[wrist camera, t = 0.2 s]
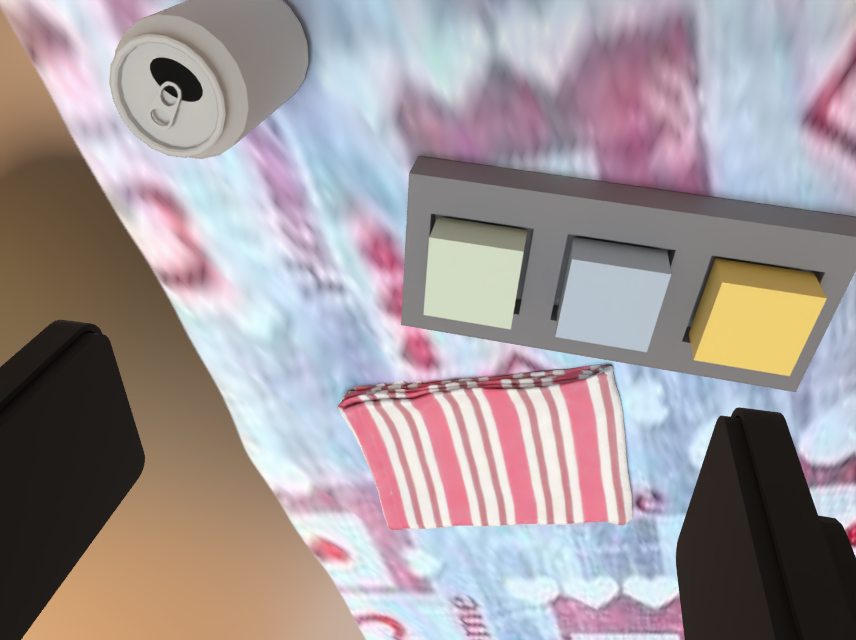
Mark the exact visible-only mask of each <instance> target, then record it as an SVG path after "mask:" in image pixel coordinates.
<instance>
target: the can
mask: <svg viewBox="0 0 856 640" xmlns="http://www.w3.org/2000/svg"><path fill="white" fill-rule="evenodd" d="M308 63H309V62H308V43H307V40H306V38H305V35H304V32H303V29H302V26H301V23H300V22H299V20H298V19H297V17H296V16H295V14H294V13H293V11H292V10H291V8H290V7H289V6H288V5H287V4H286V3H285V2H284V1H282V0H188V1H186V2H183V3H181V4H178V5H175V6H173V7H170V8H168V9H165V10H163V11H160V12H158V13H155V14H153V15H150V16H147V17H145V18H142V19H140V20H138V21H137V22H136V23H135V24H133V25H132V26H131V27H130V28H129V29H128V30H127V31H125V32H124V34H123V36H122V38H121V40H120V42H119V44H118V47H117V49H116V51H115V57H114V59H113V61H112V64H111V70H110V88H111V92H112V97H113V102H114V104H115V106H116V108H117V110H118V112H119V114H120V116H121V118H122V120H123V121H124V122H125V124H126V125H127V126H128V127H129V128H130V130H131V131H132V132H133V133H134V135H135V136H136V137H138V138H139V139H140V140H142V141H143V142H144V143H145V144H147V145H148V146H149V147H151V148H152V149H155V150H157V151H159V152H162V153H164V154H166V155H169V156H176V157H184V158H187V157H190V158H198V159H203V158H208V157H213V156H217V155H220V154H222V153H223V152H225V151H226V150H228V149H229V148H231V147H232V146H233V145H235V144H236V143H237V142H238V141H240V140H241V139H242V138H243V137H244V136H245V135H247V134H248V133H249V132H250V131H251V130H253V129H254V128H255V127H256V126H257V125H259V124H260V123H261V122H262V121H263V120H264V119H266V118H267V117H268V116H269V115H270V114H272V113H273V112H274V111H275V110H276V109H278V108H279V107H280V106H281V105H282V104H283V103H285V102H286V101H287V100H288V99H289V98H291V97H292V96H293V95H294V94H295V93H296V91H297V90H298V88H299V87H300V86H301V84H302V83H303V81H304V79H305V75H306V71H307V67H308Z"/></svg>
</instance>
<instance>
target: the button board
mask: <svg viewBox="0 0 856 640" xmlns="http://www.w3.org/2000/svg"><path fill="white" fill-rule="evenodd" d="M438 217H444V218H451V219H457V220H464V221H471V222H478V223H484V224H491V225H498V226H504V227H511V228H518V229H524V230H527V235H526V241H525V247H524V253H523V259H522V265H521V271H520V277H519V283H518V289H517V295H516V301H515V307H514V313H513V319H512V325H511V329H505V328H499V327H493V326H487V325H481V324H475V323H469V322H463V321H457V320H451V319H445V318H439V317H433V316H427V315H423V314H424V301H425V287H426V274H427V261H428V247H429V237H430V234H431V232H432V230H433V227H434V225H435V222H436V220H437V218H438ZM573 237H578V238H584V239H591V240H598V241H604V242H611V243H618V244H624V245H631V246H638V247H645V248H651V249H658V250H665V251H667V253H668V258H669V264H670V270H671V277H670V280H669V284H668V287H667V290H666V293H665V296H664V299H663V303H662V306H661V309H660V312H659V315H658V318H657V322H656V325H655V328H654V331H653V334H652V337H651V341H650V344H649V347H648V350H647V352H642V351H636V350H630V349H624V348H618V347H612V346H606V345H600V344H594V343H588V342H582V341H577V340H571V339H565V338H559V337H555V335H556V323H557V311H558V307H559V302H560V297H561V292H562V288H563V283H564V278H565V274H566V269H567V264H568V259H569V255H570V250H571V245H572V240H573ZM715 258H718V259H725V260H731V261H738V262H745V263H751V264H758V265H765V266H771V267H778V268H785V269H791V270H798V271H805V272H811V273H814V274H815V276H816V278H817V280H818V282H819V284H820V286H821V288H822V290H823V292H824V294H825V296H826V298H827V299H826V301H825V304H824V306H823V308H822V310H821V312H820V314H819V316H818V318H817V320H816V322H815V324H814V327H813V329H812V331H811V333H810V335H809V337H808V339H807V341H806V343H805V345H804V347H803V349H802V352H801V354H800V356H799V358H798V360H797V362H796V364H795V366H794V368H793V370H792V372H791V375H790V376H785V375H779V374H773V373H767V372H761V371H755V370H749V369H743V368H737V367H732V366H726V365H720V364H714V363H708V362H702V361H696V360H694V359H693V354H692V349H691V343H690V338H689V331H690V328H691V326H692V323H693V320H694V317H695V314H696V311H697V309H698V306H699V303H700V300H701V297H702V294H703V292H704V289H705V286H706V283H707V280H708V277H709V275H710V272H711V269H712V266H713V263H714V260H715ZM855 271H856V217H852V216H845V215H838V214H831V213H824V212H817V211H809V210H802V209H795V208H788V207H781V206H774V205H766V204H759V203H752V202H745V201H738V200H730V199H723V198H716V197H709V196H702V195H695V194H687V193H680V192H673V191H666V190H659V189H652V188H644V187H637V186H630V185H623V184H616V183H608V182H601V181H594V180H587V179H580V178H573V177H565V176H558V175H551V174H544V173H537V172H530V171H522V170H515V169H508V168H501V167H494V166H487V165H479V164H472V163H465V162H458V161H451V160H443V159H436V158H429V157H422V156H419V157H418V159H417V160H416V162H415V164H414V166H413V168H412V169H411V171H410V173H409V189H408V208H407V226H406V245H405V264H404V283H403V302H402V321H401V325H405V326H411V327H417V328H422V329H428V330H434V331H440V332H446V333H452V334H458V335H464V336H469V337H475V338H481V339H487V340H493V341H499V342H505V343H511V344H516V345H522V346H528V347H534V348H540V349H546V350H552V351H558V352H563V353H569V354H575V355H581V356H587V357H593V358H599V359H605V360H610V361H616V362H622V363H628V364H634V365H640V366H646V367H652V368H657V369H663V370H669V371H675V372H681V373H687V374H693V375H699V376H704V377H710V378H716V379H722V380H728V381H734V382H740V383H746V384H751V385H757V386H763V387H769V388H775V389H781V390H787V391H793V392H796V390H797V388H798V386H799V384H800V382H801V380H802V378H803V376H804V374H805V372H806V370H807V368H808V366H809V364H810V362H811V360H812V358H813V356H814V354H815V352H816V350H817V348H818V346H819V344H820V342H821V340H822V338H823V336H824V334H825V332H826V330H827V328H828V326H829V324H830V322H831V320H832V318H833V315H834V313H835V311H836V309H837V307H838V305H839V303H840V301H841V299H842V297H843V295H844V293H845V291H846V289H847V287H848V285H849V283H850V281H851V279H852V277H853V275H854V273H855Z"/></svg>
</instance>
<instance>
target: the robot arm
mask: <svg viewBox="0 0 856 640" xmlns="http://www.w3.org/2000/svg"><path fill="white" fill-rule="evenodd" d="M144 463H145V455H144V451H143V448H142V444H141V441H140V438H139V434H138V431H137V428H136V425H135V422H134V418H133V415H132V412H131V408H130V405H129V402H128V399H127V395H126V392H125V389H124V385H123V382H122V379H121V376H120V372H119V369H118V366H117V363H116V359H115V356H114V353H113V350H112V346H111V343H110V341H109V338H108V337H107V336H106V335H103V334H102V332H101V330H100V329H99V328H98V327H97V326H96V325H94V324H90V323H82V322H74V321H66V320H57V321H54V322H53V323H51V324H50V325H49V326H47V327H46V328H45V329H44V330H43V331H42V332H40V333H39V334H38V335H37V336H36V337H35V338H33V339H32V340H31V341H30V342H29V343H28V344H27V345H25V346H24V347H23V348H22V349H21V350H20V351H18V352H17V353H16V354H15V355H14V356H13V357H12V358H10V359H9V360H8V361H7V362H6V363H5V364H4V365H2V366H1V367H0V640H21V639H22V638H23V636H24V635H25V633H26V632H27V631H28V629H29V628H30V627H31V625H32V624H33V622H34V621H35V620H36V618H37V617H38V616H39V614H40V613H41V611H42V610H43V609H44V607H45V606H46V605H47V603H48V602H49V600H50V599H51V598H52V596H53V595H54V593H55V592H56V590H57V589H58V588H59V587H60V585H61V584H62V582H63V581H64V580H65V578H66V577H67V575H68V574H69V573H70V572H71V570H72V569H73V567H74V566H75V565H76V563H77V562H78V561H79V559H80V558H81V556H82V555H83V554H84V552H85V551H86V550H87V548H88V547H89V545H90V544H91V543H92V541H93V540H94V539H95V537H96V536H97V534H98V533H99V532H100V530H101V529H102V528H103V526H104V525H105V523H106V522H107V521H108V519H109V518H110V516H111V515H112V514H113V512H114V511H115V510H116V508H117V507H118V506H119V504H120V503H121V501H122V500H123V499H124V497H125V496H126V495H127V493H128V492H129V490H130V489H131V488H132V486H133V485H134V483H135V482H136V481H137V479H138V478H139V476H140V475H141V473H142V470H143V467H144ZM676 568H677V576H678V585H679V593H680V602H681V610H682V619H683V628H684V636H685V640H856V557H855V555H854V552H853V549H852V547H851V544H850V541H849V539H848V536H847V534H846V532H845V530H844V528H843V526H842V524H841V523H840V522H839V521H838V520H837V519H836V518H830V517H824V516H818V514H817V511H816V508H815V505H814V502H813V500H812V497H811V494H810V491H809V488H808V485H807V482H806V479H805V476H804V473H803V470H802V467H801V464H800V461H799V458H798V455H797V452H796V449H795V446H794V444H793V441H792V438H791V435H790V432H789V429H788V426H787V423H786V420H785V418H784V416H783V415H782V414H781V413H778V412H770V411H763V410H755V409H747V408H736V409H735V410H734V411H733V413H732V416H731V417H728V416H720V417H719V418H718V419H717V422H716V425H715V428H714V431H713V434H712V437H711V440H710V443H709V446H708V449H707V452H706V455H705V458H704V461H703V464H702V468H701V471H700V474H699V477H698V480H697V483H696V486H695V489H694V492H693V495H692V498H691V501H690V504H689V507H688V511H687V514H686V517H685V520H684V523H683V526H682V529H681V532H680V535H679V538H678V542H677V549H676Z"/></svg>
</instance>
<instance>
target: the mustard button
mask: <svg viewBox="0 0 856 640" xmlns="http://www.w3.org/2000/svg"><path fill="white" fill-rule="evenodd" d="M826 299H827V298H826V296H825V294H824V292H823V290H822V288H821V286H820V284H819V282H818V280H817V278H816V276H815V274H814V273H811V272H805V271H798V270H791V269H785V268H778V267H771V266H765V265H758V264H751V263H745V262H738V261H731V260H725V259H718V258H715V260H714V263H713V266H712V269H711V272H710V275H709V277H708V280H707V283H706V286H705V289H704V292H703V294H702V297H701V300H700V303H699V306H698V309H697V311H696V314H695V317H694V320H693V323H692V326H691V328H690V331H689V338H690V343H691V349H692V354H693V359H694V360H696V361H702V362H708V363H714V364H720V365H726V366H732V367H737V368H743V369H749V370H755V371H761V372H767V373H773V374H779V375H785V376H790V375H791V372H792V370H793V368H794V366H795V364H796V362H797V360H798V358H799V356H800V354H801V352H802V349H803V347H804V345H805V343H806V341H807V339H808V337H809V335H810V333H811V331H812V329H813V327H814V324H815V322H816V320H817V318H818V316H819V314H820V312H821V310H822V308H823V306H824V304H825V301H826Z"/></svg>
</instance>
